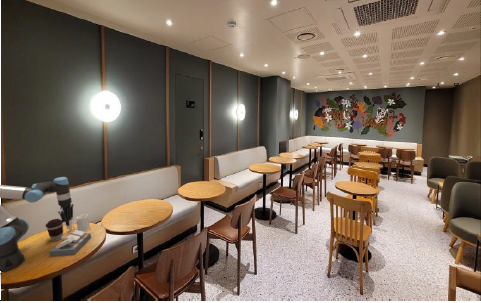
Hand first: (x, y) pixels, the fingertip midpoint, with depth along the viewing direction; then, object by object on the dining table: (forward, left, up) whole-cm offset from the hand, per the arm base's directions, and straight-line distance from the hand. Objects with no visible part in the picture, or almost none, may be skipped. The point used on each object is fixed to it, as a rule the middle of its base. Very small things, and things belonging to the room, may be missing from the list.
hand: (69, 228), depth 159 cm
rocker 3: (+4, 0, -4) cm, 5 cm away
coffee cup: (-14, +6, -11) cm, 19 cm away
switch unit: (+4, -6, -11) cm, 13 cm away
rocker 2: (+4, -6, -5) cm, 9 cm away
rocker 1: (+4, -12, -4) cm, 13 cm away
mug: (-2, +16, -11) cm, 20 cm away
